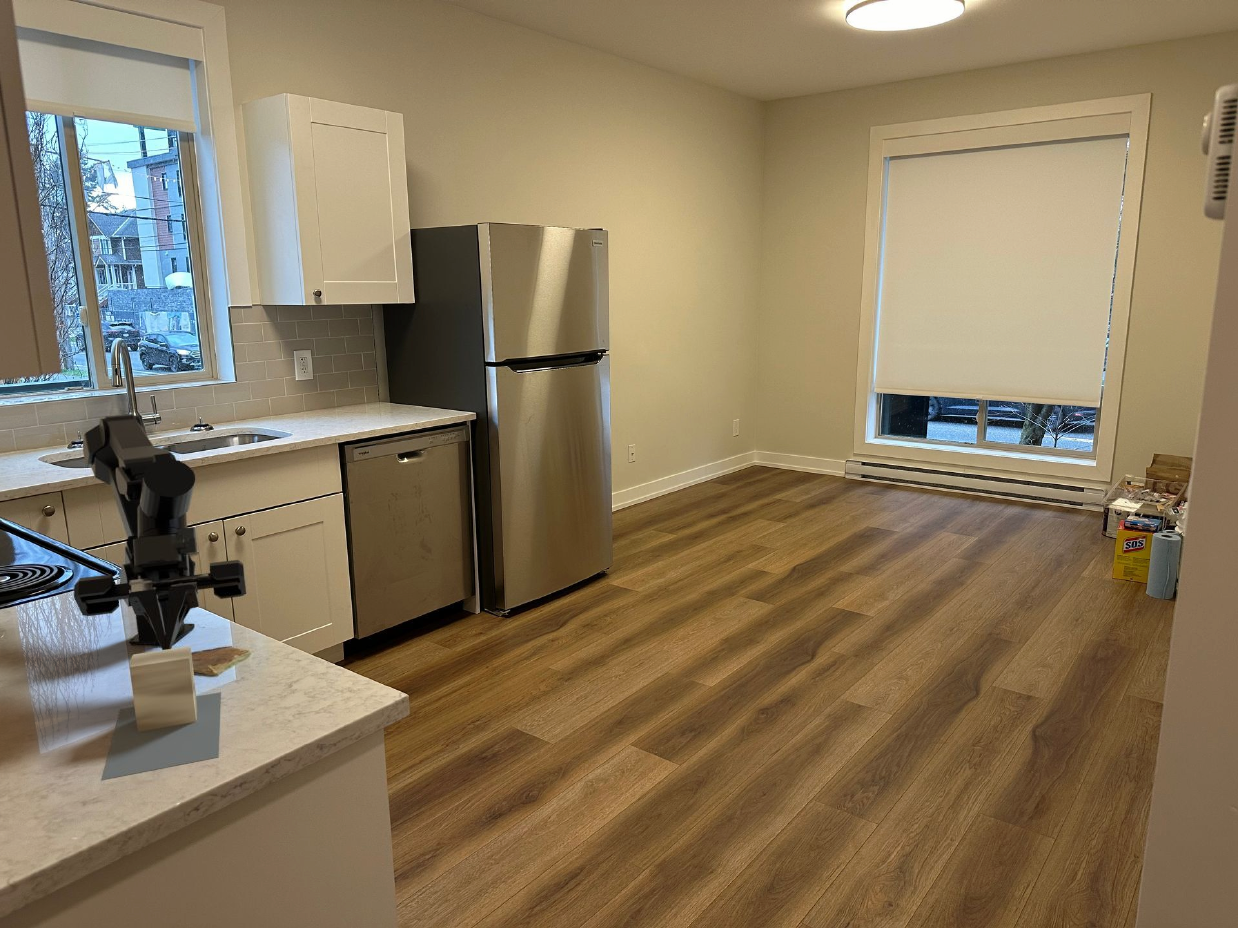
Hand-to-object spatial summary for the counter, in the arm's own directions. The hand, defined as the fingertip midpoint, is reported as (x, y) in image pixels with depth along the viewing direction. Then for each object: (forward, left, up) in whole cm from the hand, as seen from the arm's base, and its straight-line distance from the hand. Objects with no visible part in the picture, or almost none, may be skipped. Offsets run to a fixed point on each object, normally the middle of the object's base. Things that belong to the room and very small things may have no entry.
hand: (166, 650), depth 104 cm
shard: (-9, -1, -7) cm, 12 cm away
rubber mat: (+8, +4, -7) cm, 11 cm away
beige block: (+5, +2, -6) cm, 9 cm away
